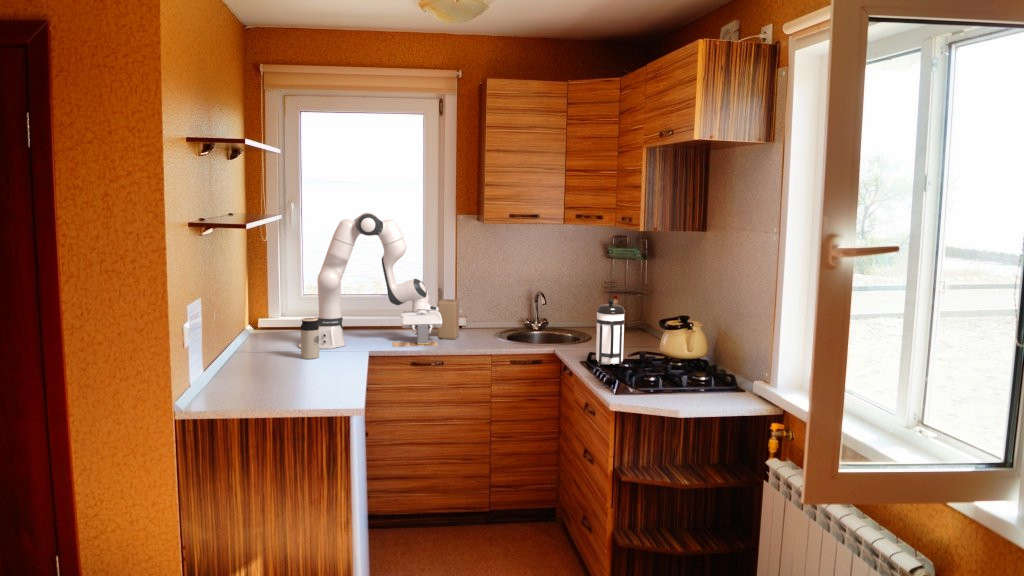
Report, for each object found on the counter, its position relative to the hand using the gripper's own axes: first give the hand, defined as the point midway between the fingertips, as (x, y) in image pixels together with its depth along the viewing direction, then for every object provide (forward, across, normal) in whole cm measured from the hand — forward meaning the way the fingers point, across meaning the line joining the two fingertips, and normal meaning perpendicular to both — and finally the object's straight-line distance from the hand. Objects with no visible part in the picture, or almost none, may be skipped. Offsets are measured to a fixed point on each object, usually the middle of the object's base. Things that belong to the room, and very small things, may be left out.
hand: (422, 333), depth 377 cm
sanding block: (+3, 0, +4) cm, 5 cm away
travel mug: (+18, -53, -8) cm, 56 cm away
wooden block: (-12, +15, +22) cm, 29 cm away
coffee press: (+44, +79, -34) cm, 96 cm away
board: (+4, -4, +5) cm, 8 cm away
